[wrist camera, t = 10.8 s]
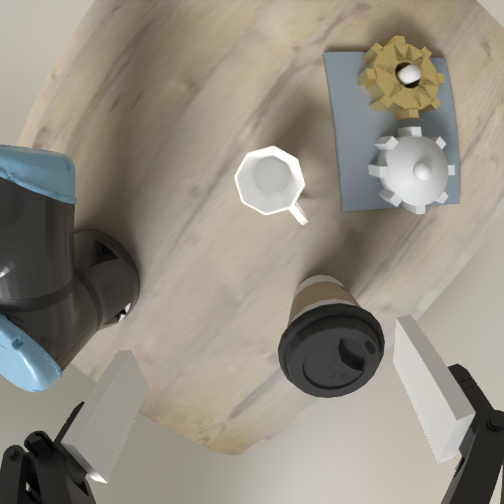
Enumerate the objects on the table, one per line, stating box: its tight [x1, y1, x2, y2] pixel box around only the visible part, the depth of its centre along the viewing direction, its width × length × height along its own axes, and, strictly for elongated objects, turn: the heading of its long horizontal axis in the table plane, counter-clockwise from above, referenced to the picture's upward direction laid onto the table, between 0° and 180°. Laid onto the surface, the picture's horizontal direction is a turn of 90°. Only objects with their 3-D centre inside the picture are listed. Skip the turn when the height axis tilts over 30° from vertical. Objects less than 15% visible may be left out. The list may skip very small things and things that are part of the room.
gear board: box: [323, 52, 460, 214], centre depth 31 cm, size 17×20×8 cm
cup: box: [234, 145, 309, 225], centre depth 34 cm, size 7×10×8 cm
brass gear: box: [356, 36, 445, 120], centre depth 29 cm, size 10×10×4 cm
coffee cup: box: [278, 275, 385, 398], centre depth 35 cm, size 11×11×15 cm
